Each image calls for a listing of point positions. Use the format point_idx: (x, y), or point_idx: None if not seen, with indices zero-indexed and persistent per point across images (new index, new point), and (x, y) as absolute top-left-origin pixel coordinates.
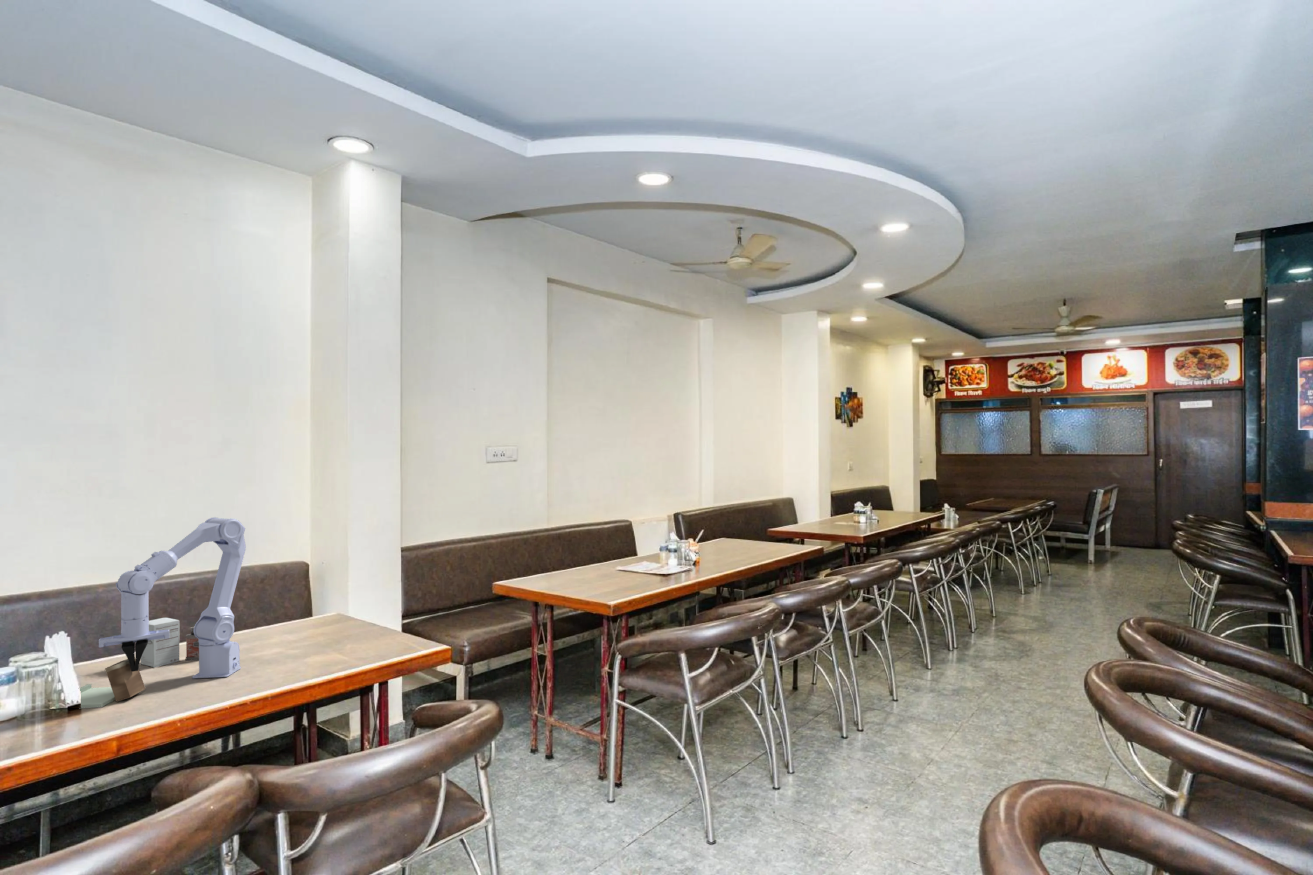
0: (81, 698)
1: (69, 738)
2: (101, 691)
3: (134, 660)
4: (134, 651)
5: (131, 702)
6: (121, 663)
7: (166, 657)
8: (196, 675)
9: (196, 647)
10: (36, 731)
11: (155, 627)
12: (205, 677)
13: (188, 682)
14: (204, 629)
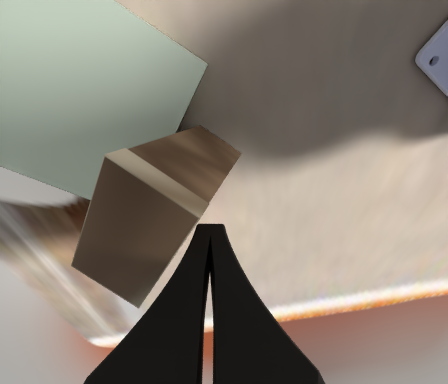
0: (37, 119)
1: (137, 320)
2: (78, 57)
3: (206, 278)
4: (201, 318)
5: (206, 214)
6: (147, 294)
7: None
8: (441, 48)
9: None
10: (60, 280)
11: None
12: (444, 93)
13: (377, 108)
14: None
